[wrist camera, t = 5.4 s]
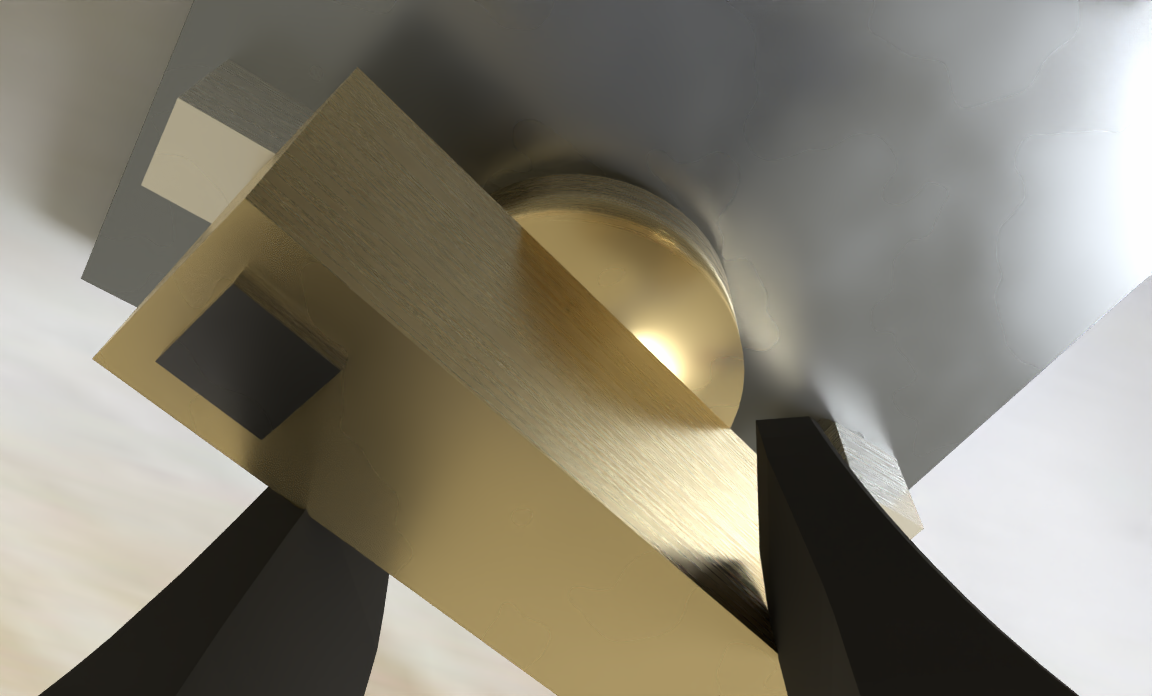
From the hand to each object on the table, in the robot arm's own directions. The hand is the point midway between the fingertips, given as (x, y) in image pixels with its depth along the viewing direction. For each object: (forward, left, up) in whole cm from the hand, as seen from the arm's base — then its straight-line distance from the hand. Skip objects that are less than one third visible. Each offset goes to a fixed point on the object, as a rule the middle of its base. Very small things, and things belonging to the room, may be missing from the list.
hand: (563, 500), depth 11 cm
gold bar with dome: (0, 0, -4) cm, 4 cm away
